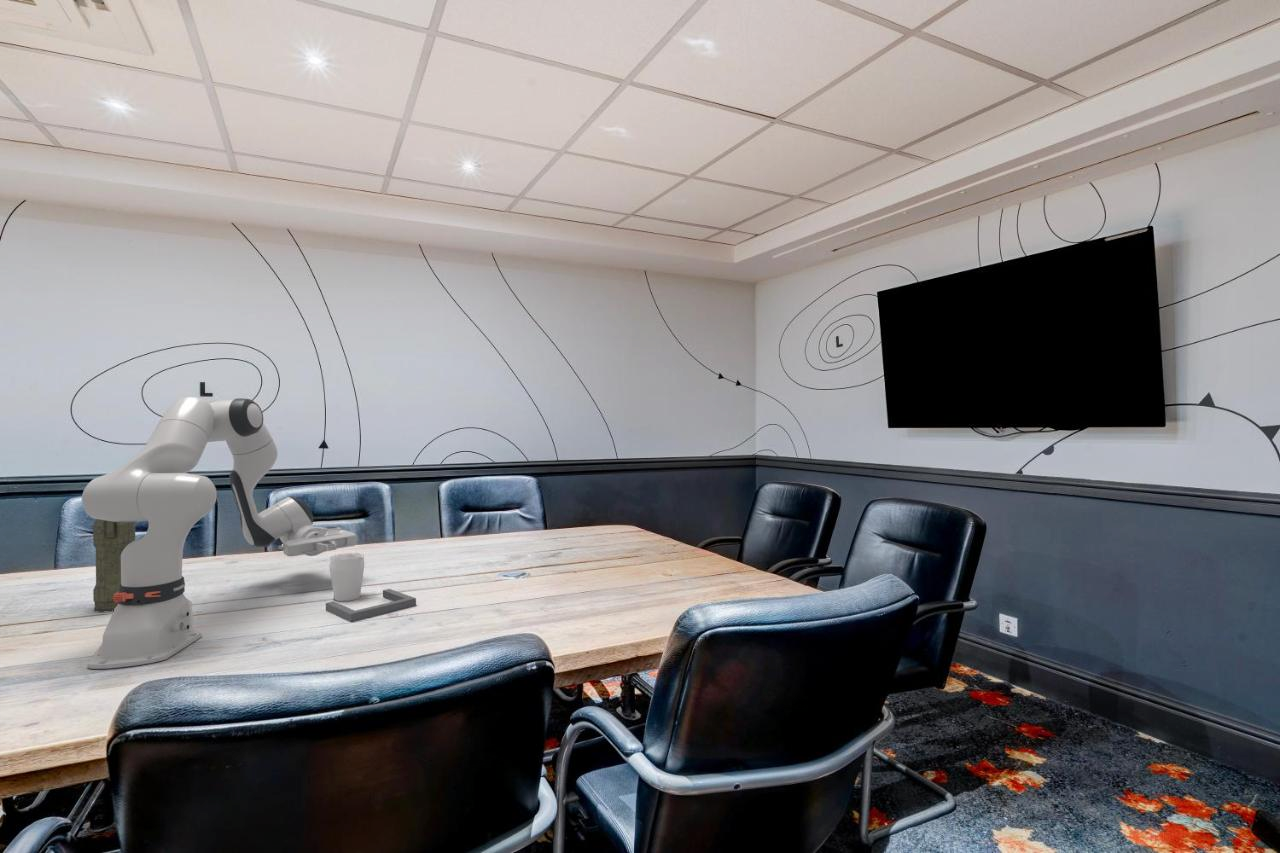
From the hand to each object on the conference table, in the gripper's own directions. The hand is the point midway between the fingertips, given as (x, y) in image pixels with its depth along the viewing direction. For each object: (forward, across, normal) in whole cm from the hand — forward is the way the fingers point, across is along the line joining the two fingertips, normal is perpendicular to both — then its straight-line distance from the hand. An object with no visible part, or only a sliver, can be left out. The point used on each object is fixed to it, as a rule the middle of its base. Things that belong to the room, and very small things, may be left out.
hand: (331, 547), depth 184 cm
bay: (+25, 0, +13) cm, 28 cm away
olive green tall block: (-29, -45, +13) cm, 55 cm away
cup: (+11, 0, +13) cm, 17 cm away
